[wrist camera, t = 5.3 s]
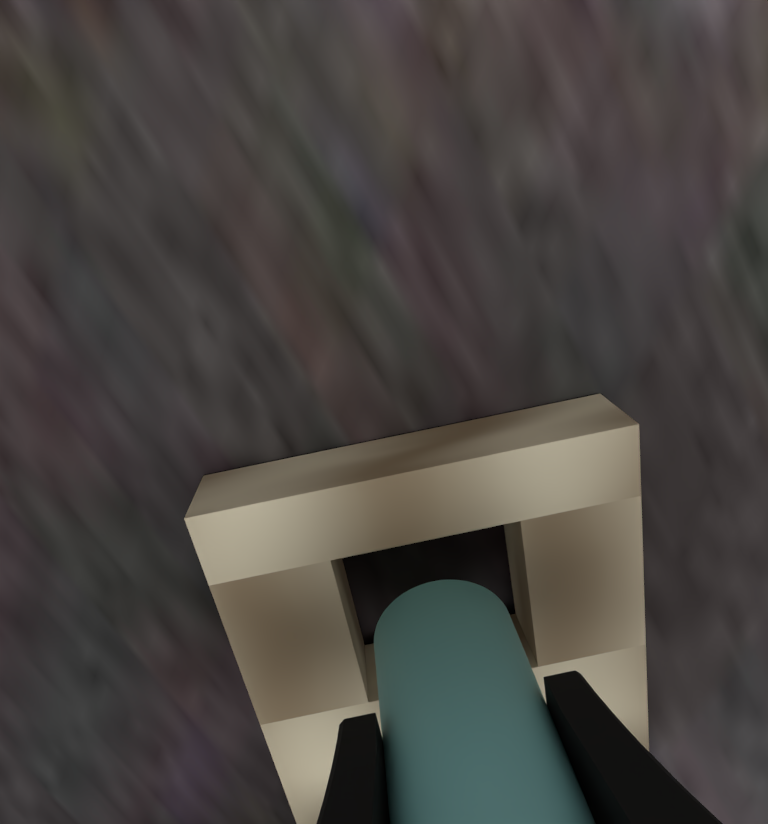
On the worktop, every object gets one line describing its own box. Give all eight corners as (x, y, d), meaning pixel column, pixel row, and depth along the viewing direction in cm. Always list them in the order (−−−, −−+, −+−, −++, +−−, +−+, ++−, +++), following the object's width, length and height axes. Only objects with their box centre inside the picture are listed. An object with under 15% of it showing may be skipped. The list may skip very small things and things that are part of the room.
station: (600, 393, 15) (820, 566, 8) (621, 779, 20) (766, 1079, 13) (203, 475, 15) (94, 718, 8) (328, 841, 20) (326, 1173, 13)
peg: (521, 672, 14) (732, 1219, 7) (391, 704, 14) (456, 1284, 7) (500, 564, 13) (728, 1083, 5) (358, 599, 13) (392, 1163, 5)
